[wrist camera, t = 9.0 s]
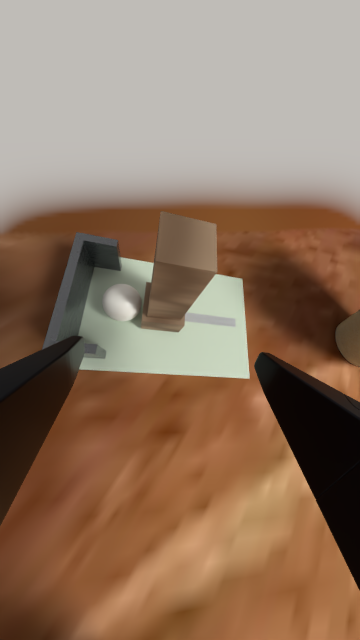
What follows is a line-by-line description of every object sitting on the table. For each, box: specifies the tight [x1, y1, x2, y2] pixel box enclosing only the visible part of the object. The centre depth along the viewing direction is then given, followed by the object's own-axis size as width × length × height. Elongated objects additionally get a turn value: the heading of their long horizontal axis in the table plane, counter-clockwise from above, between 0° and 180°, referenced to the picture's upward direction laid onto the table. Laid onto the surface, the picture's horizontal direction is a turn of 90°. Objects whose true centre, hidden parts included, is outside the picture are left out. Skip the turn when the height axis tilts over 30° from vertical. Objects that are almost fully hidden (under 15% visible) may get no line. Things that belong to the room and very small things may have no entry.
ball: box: [102, 284, 142, 321], centre depth 19 cm, size 4×4×4 cm
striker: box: [141, 211, 217, 332], centre depth 15 cm, size 4×4×12 cm
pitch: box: [78, 257, 249, 378], centre depth 22 cm, size 21×14×1 cm, turn 87°
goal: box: [42, 232, 122, 359], centre depth 18 cm, size 4×12×4 cm, turn 177°
